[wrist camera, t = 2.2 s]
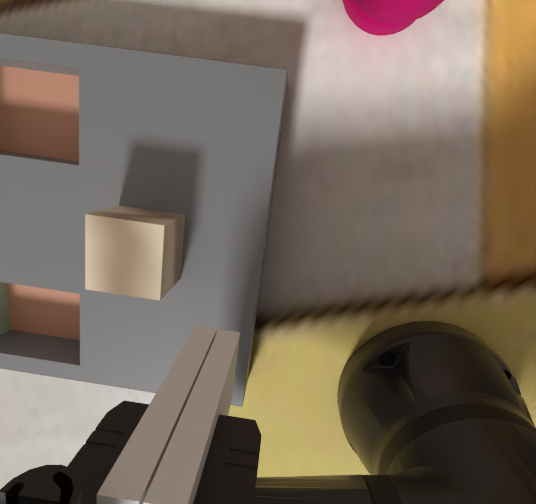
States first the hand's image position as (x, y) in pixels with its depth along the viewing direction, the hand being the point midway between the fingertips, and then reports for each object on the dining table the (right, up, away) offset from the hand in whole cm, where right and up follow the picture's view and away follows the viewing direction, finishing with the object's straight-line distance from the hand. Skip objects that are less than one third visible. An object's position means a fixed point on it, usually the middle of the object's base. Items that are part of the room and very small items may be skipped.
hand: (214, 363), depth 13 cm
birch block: (-7, +5, +14) cm, 16 cm away
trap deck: (-15, +7, +18) cm, 25 cm away
